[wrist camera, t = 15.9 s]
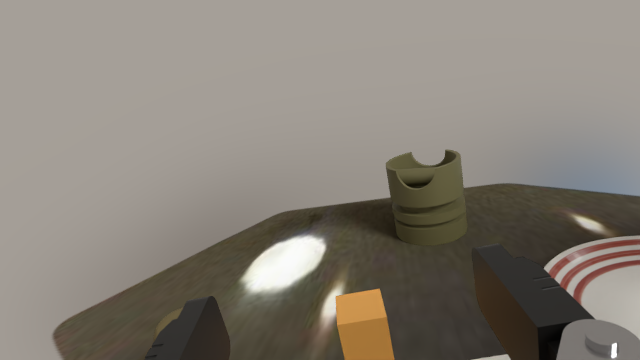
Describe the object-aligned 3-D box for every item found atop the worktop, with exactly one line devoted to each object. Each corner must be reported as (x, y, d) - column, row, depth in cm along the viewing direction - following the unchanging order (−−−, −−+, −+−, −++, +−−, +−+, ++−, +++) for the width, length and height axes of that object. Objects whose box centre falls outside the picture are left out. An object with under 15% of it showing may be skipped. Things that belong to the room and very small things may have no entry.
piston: (454, 169, 53) (376, 173, 58) (462, 247, 56) (388, 244, 62) (464, 146, 62) (396, 152, 68) (471, 214, 66) (405, 214, 71)
